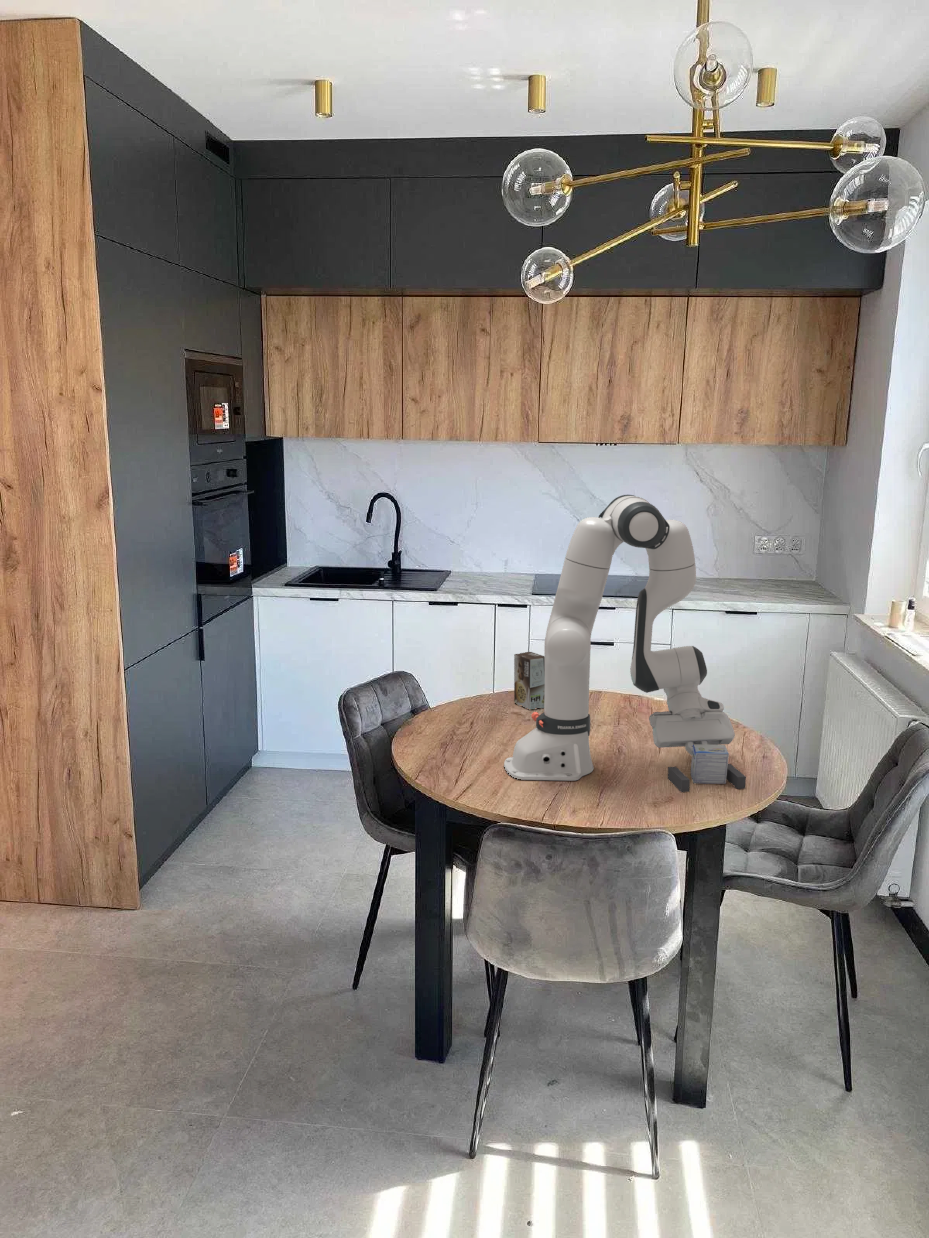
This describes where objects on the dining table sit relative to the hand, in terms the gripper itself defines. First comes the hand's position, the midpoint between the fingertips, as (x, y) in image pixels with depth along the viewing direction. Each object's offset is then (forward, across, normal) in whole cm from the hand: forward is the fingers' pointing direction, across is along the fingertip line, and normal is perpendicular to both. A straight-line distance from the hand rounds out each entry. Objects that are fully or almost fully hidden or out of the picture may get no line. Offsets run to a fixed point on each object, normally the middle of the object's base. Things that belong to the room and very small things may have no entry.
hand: (700, 760), depth 230 cm
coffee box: (-44, -28, +50) cm, 72 cm away
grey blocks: (+6, 0, 0) cm, 6 cm away
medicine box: (+5, +1, +1) cm, 5 cm away
